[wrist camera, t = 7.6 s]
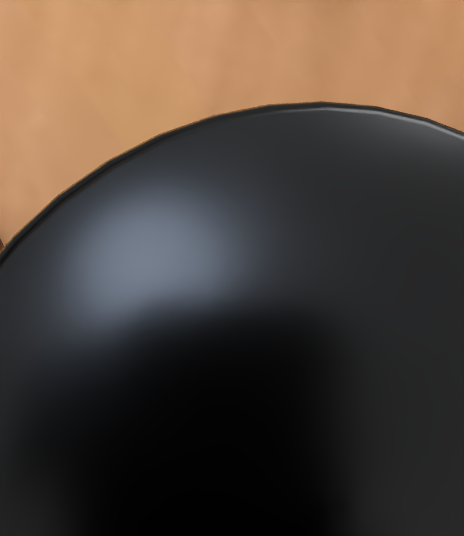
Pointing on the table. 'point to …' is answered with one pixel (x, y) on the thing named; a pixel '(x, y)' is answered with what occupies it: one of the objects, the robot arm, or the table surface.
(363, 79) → the table surface
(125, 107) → the table surface
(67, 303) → the metal tumbler
